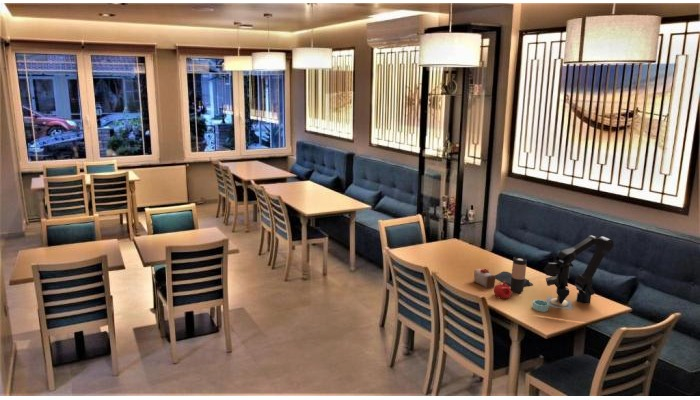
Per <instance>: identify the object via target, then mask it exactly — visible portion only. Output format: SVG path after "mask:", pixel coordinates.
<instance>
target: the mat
mask: <svg viewBox="0 0 700 400" xmlns="http://www.w3.org/2000/svg"><path fill="white" fill-rule="evenodd" d="M552 298H553V297H551V296H550V297H549V296H546V297H545V299H546V302H548V303H549V308H553V309H554V308H555V309H562V310H570V311H574V308H573V303H572V301H571V299H566V298H565V300H566V301H567V302H568V306H566V307H560V306H556V305H553V304H552V303H551V299H552Z"/></svg>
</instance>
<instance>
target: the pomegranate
mask: <svg viewBox="0 0 700 400" xmlns="http://www.w3.org/2000/svg"><path fill="white" fill-rule="evenodd" d="M493 293H494V295H495V297H497V298H499V299H503V300H506V299H509V298H510V297H511V296H512V294H513V292H512V291H511V287H510V286H509V285H506V283H505V281H503V283H502V282H500V281H499V283H497V284H496V285H495V286H494V288H493Z"/></svg>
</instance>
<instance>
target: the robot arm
mask: <svg viewBox="0 0 700 400" xmlns="http://www.w3.org/2000/svg"><path fill="white" fill-rule="evenodd" d="M594 245H595V247H594V249H595V251H594V253H593V255H592V257H591V258H590V261H589V263H588V265H587V266H586V268H585V270H584V272H583V273H581V274H578V275H576V278H575V280H574V286H575V289H576V290H577V291H578V292H577V293H576V299H575V301H576V302H579V303H581V304H591V300H592V296H593V295H595V293H596V292H595V290H594V289H593V282H594V280H593V277H594V276H595V274H596V272H597V269H598V268H599V266H600V264H601V263H602V260H603V258H604V257H605V255H606V254H608V253H610V252H611V250H612V249H613V248H614V246H615V243H614V241H613V240H612V239H610V238H608V237H606V236H600V237H599V236H595V235H593V234H591V235H588V236H587V237H586V238H585V239H583V240H581V241H580V242H578V243H577V244H576V245H574V246H572V247H569V248H565V249H562V250H561V251H559V252H558V254H557V255H556V256H555V258H554V259H553V260H552V262H547V264H546V265H545V266H544V268H543V270H544V273H545V275H546V276H548V277H545V282H546V286H548V287H550V286H553V285H554V286H555V287H556V292H555V293H556V295H557V296H559V303H560V304H562V303H563V301H564V300H565V299H566V298H567V297H568V296H569V295H570V289H569V284H568V282H569V280H570V268H573V267H574V264H573V262H574V261H575V260H576V259H577V257H578V256H579V255H580V254H581V253H583V252H585V251H587V250H588V249H590V248H591V247H593V246H594ZM549 276H550V277H549Z"/></svg>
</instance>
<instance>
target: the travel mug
mask: <svg viewBox="0 0 700 400" xmlns="http://www.w3.org/2000/svg"><path fill="white" fill-rule="evenodd" d="M527 261H528V260H527V258H525V257H523V256H513V260H512V266H511V267H512V268H511V274H512V275H511V287H510V289H511V291H512V293H515V294H521V293H522V292H524V289H525V288H524V281H525V279H526V274H527V273H526V271H527Z"/></svg>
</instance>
